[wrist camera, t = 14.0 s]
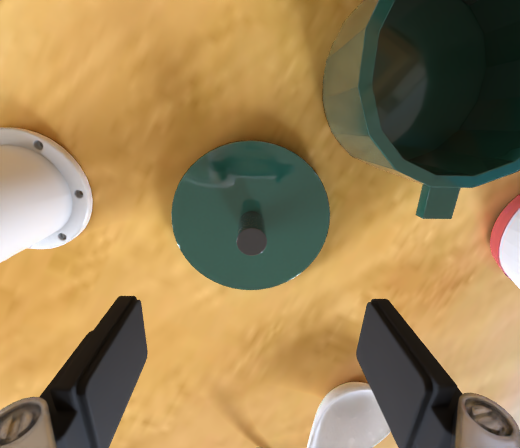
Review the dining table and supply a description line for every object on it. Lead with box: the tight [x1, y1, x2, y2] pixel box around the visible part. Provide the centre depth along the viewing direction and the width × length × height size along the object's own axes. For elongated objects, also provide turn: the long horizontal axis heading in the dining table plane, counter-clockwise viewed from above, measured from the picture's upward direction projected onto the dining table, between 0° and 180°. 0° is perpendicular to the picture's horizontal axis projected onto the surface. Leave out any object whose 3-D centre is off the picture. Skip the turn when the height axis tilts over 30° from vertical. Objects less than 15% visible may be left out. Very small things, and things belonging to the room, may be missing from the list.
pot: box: [323, 0, 520, 219], centre depth 21 cm, size 16×22×10 cm
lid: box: [172, 140, 330, 290], centre depth 27 cm, size 17×17×6 cm
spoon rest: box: [257, 382, 390, 448], centre depth 39 cm, size 24×12×7 cm, turn 135°
